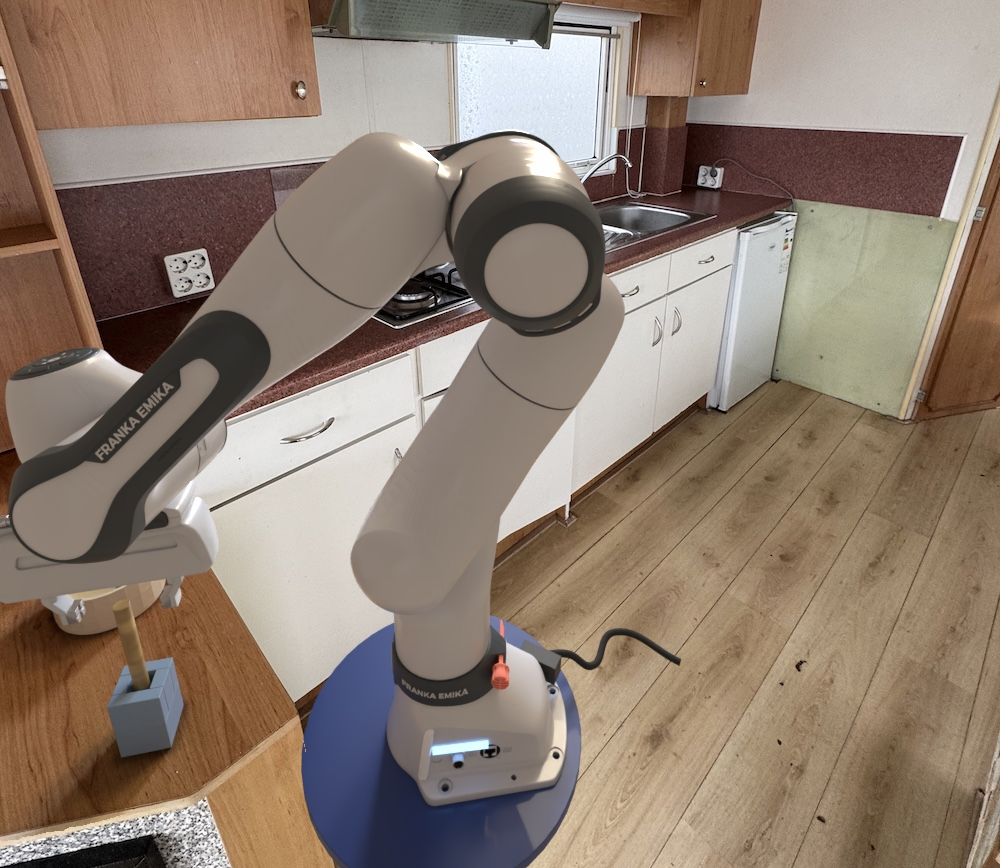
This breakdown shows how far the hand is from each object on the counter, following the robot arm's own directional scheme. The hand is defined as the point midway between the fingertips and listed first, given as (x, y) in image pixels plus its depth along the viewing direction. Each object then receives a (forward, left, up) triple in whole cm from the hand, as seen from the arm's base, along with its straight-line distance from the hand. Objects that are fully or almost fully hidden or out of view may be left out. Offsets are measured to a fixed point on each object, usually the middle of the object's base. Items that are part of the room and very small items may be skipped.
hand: (124, 611), depth 62 cm
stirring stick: (0, 0, -14) cm, 14 cm away
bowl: (+18, -19, -18) cm, 32 cm away
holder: (0, 0, -18) cm, 18 cm away
